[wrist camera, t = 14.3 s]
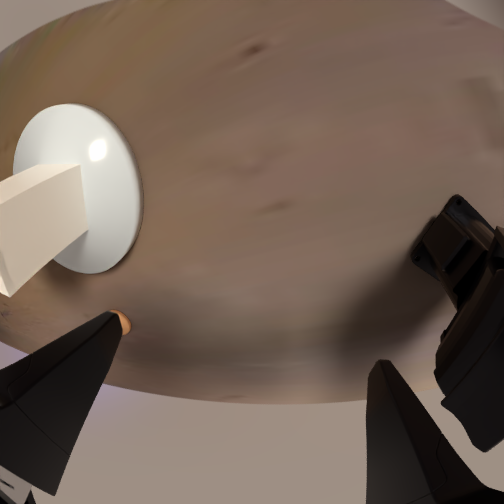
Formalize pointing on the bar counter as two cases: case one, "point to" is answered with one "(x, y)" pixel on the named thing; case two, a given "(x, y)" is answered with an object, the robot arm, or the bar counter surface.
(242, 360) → the bar counter surface
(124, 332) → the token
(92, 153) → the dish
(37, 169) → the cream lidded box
